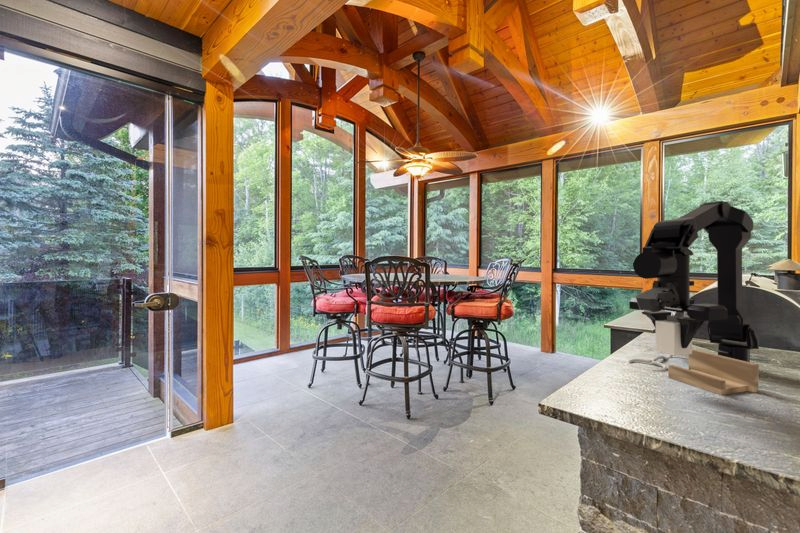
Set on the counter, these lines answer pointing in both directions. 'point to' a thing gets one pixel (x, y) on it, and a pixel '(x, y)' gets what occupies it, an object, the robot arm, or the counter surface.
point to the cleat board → (717, 373)
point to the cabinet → (670, 337)
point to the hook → (651, 362)
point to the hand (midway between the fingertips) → (673, 345)
